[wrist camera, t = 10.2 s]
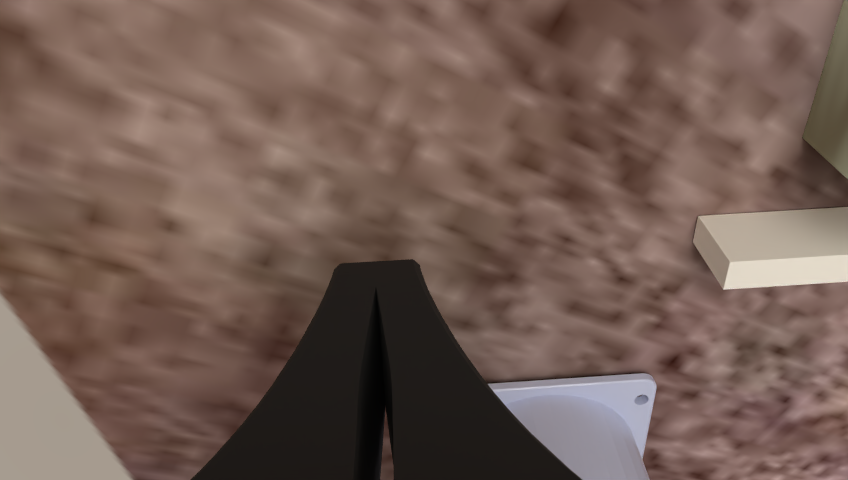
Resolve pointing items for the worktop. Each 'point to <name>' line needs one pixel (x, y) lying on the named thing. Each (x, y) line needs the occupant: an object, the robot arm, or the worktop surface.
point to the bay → (775, 247)
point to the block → (832, 101)
